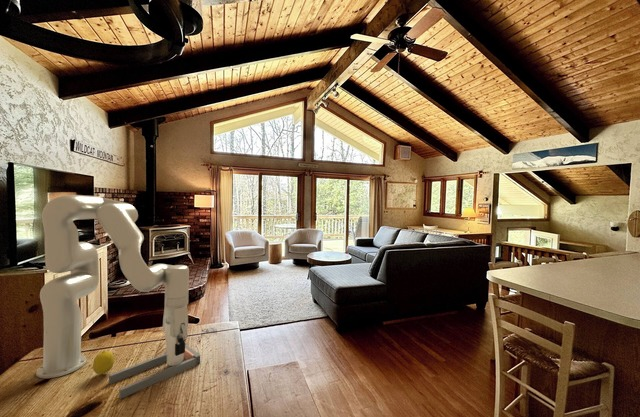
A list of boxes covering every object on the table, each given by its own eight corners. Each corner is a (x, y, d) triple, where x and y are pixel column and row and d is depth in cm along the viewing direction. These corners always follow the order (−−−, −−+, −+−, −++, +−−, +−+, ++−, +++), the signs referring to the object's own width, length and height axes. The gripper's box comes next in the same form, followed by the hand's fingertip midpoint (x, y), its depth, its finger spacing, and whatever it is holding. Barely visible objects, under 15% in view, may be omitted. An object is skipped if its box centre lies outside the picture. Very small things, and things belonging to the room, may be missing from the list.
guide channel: (109, 382, 87) (109, 372, 87) (185, 352, 106) (185, 344, 106) (120, 399, 80) (120, 388, 80) (200, 363, 99) (200, 354, 99)
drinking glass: (176, 369, 94) (177, 325, 94) (159, 366, 95) (160, 323, 95) (189, 358, 101) (190, 318, 100) (173, 356, 102) (174, 316, 102)
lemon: (112, 367, 95) (112, 344, 95) (115, 374, 91) (115, 351, 91) (91, 374, 91) (92, 350, 91) (93, 382, 88) (94, 357, 87)
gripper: (155, 297, 100) (154, 346, 100) (176, 309, 89) (175, 364, 90) (176, 292, 106) (175, 338, 106) (199, 303, 95) (197, 355, 95)
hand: (175, 349), depth 98 cm, fingers closed on drinking glass, 6 cm apart
